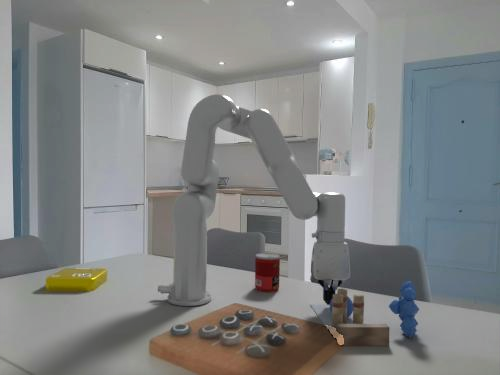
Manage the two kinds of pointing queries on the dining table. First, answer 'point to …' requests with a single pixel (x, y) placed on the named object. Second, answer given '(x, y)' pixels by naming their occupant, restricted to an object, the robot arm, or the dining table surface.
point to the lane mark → (327, 314)
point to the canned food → (267, 272)
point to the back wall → (364, 334)
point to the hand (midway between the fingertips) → (328, 303)
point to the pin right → (358, 309)
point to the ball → (349, 306)
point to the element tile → (76, 279)
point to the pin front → (344, 303)
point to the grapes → (406, 308)
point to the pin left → (337, 310)
